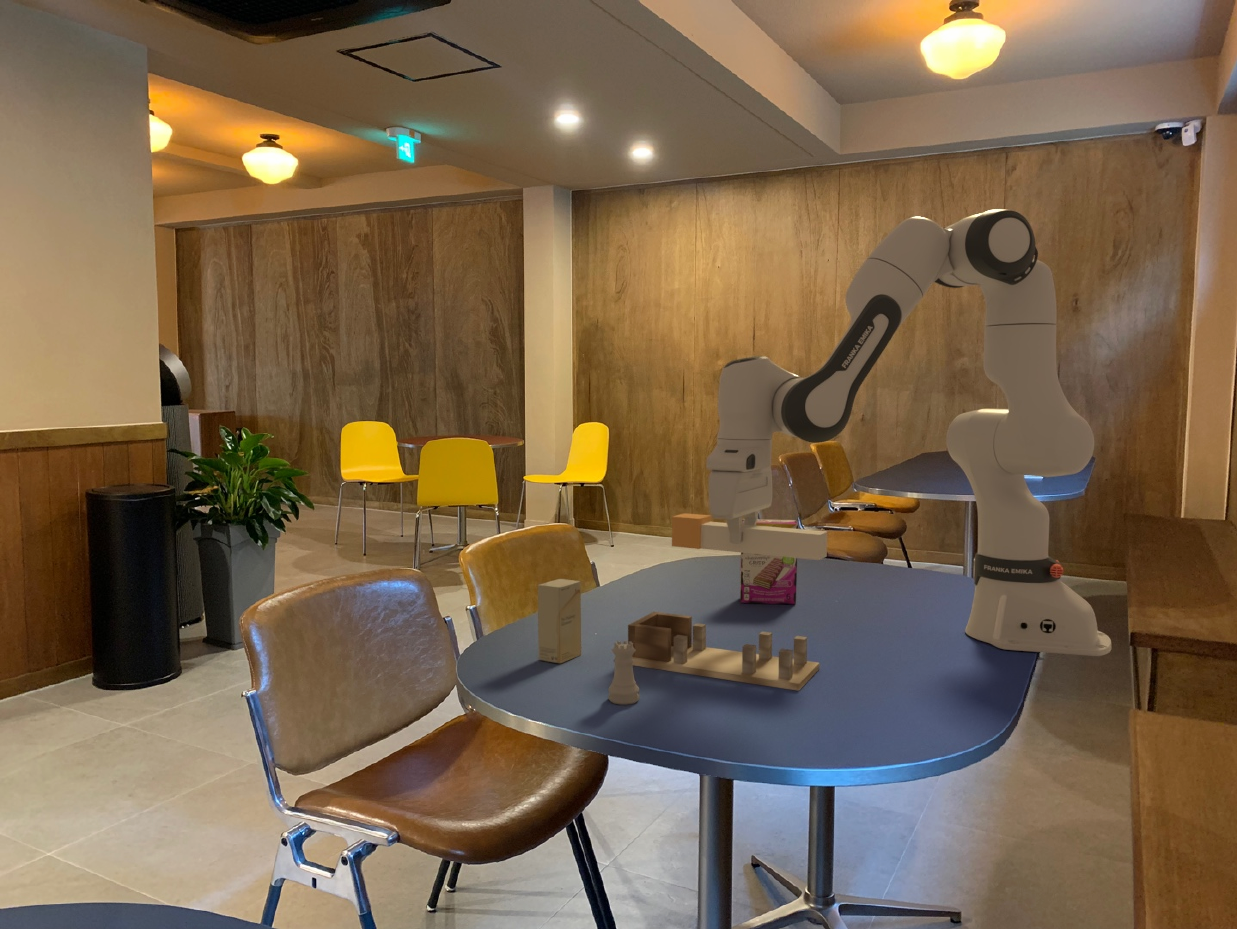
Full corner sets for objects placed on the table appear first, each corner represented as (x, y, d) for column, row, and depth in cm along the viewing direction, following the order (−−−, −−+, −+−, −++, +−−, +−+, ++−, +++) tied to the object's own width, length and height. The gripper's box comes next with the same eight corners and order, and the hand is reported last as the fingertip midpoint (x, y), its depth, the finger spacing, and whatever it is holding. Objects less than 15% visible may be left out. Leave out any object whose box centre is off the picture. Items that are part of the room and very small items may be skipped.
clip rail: (819, 669, 138) (819, 630, 137) (799, 690, 128) (799, 649, 128) (652, 645, 151) (652, 610, 150) (622, 663, 141) (622, 626, 140)
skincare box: (559, 665, 141) (559, 587, 140) (537, 660, 143) (536, 584, 142) (582, 654, 146) (582, 580, 145) (560, 650, 148) (559, 577, 147)
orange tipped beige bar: (827, 555, 144) (828, 524, 144) (818, 560, 140) (819, 528, 139) (683, 542, 156) (684, 513, 156) (671, 546, 152) (672, 516, 151)
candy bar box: (740, 604, 179) (741, 522, 178) (739, 598, 184) (740, 518, 183) (797, 605, 178) (798, 522, 177) (795, 599, 183) (796, 519, 182)
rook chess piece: (615, 707, 122) (615, 649, 121) (602, 697, 126) (602, 641, 125) (645, 703, 124) (645, 645, 123) (631, 693, 128) (631, 637, 127)
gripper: (747, 452, 158) (745, 530, 159) (701, 459, 140) (700, 547, 141) (782, 453, 155) (780, 533, 156) (740, 461, 137) (738, 551, 138)
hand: (742, 540), depth 148 cm, fingers closed on orange tipped beige bar, 4 cm apart
